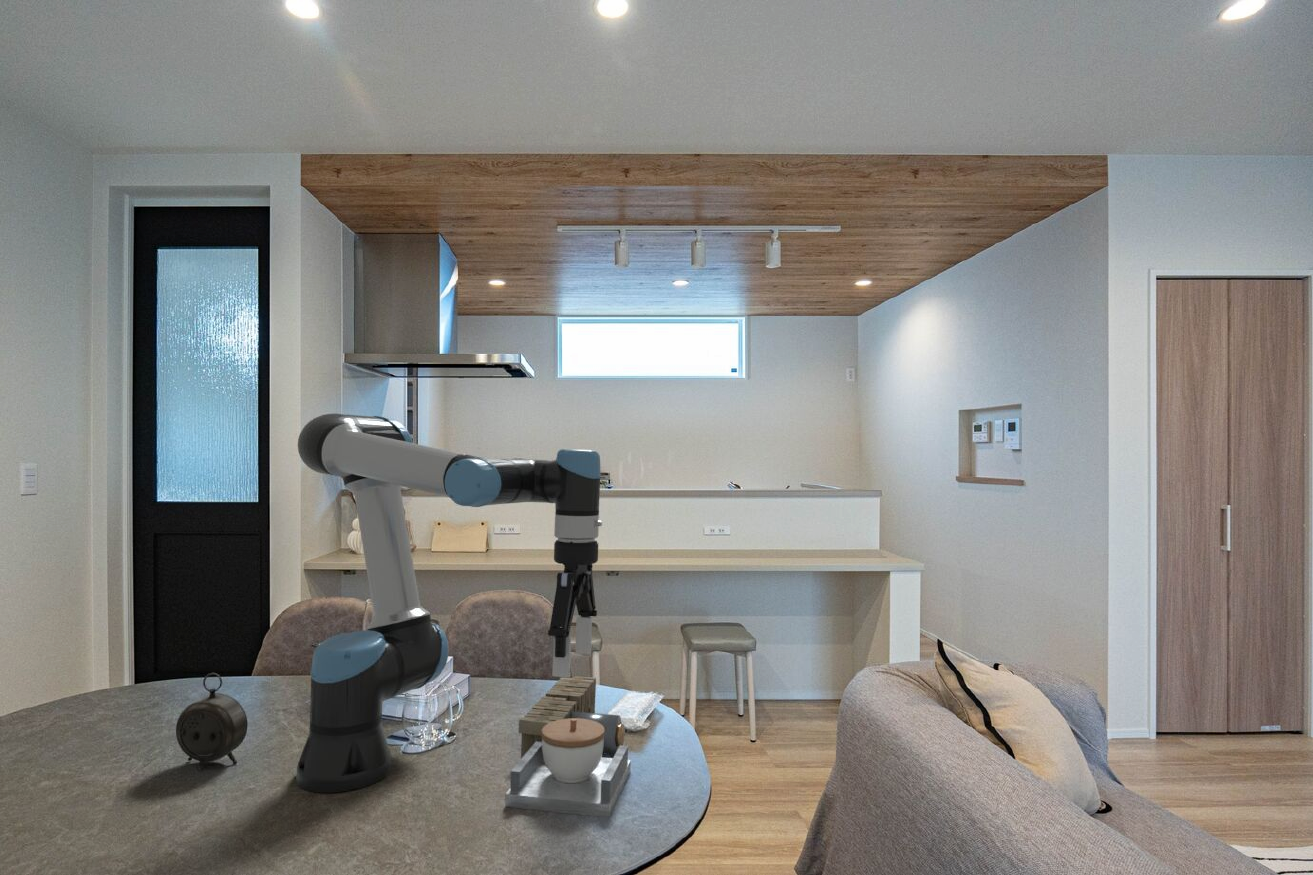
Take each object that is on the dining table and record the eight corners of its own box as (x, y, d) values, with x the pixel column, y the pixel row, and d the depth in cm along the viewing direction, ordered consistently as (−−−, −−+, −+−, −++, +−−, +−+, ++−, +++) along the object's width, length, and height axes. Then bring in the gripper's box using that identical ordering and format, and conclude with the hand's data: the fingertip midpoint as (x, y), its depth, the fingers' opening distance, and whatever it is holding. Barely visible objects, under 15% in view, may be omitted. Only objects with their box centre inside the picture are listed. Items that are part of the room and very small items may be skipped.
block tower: (561, 713, 160) (515, 763, 132) (562, 675, 161) (517, 716, 132) (596, 716, 159) (557, 767, 130) (597, 677, 160) (558, 719, 131)
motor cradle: (505, 806, 115) (506, 762, 115) (556, 740, 142) (557, 704, 142) (608, 817, 112) (610, 772, 112) (641, 748, 139) (641, 711, 140)
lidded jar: (593, 792, 116) (595, 734, 116) (530, 785, 118) (532, 727, 118) (610, 765, 127) (612, 711, 127) (552, 759, 129) (554, 706, 129)
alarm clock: (247, 760, 130) (251, 669, 130) (227, 773, 124) (231, 679, 125) (190, 757, 131) (194, 667, 131) (168, 770, 125) (171, 676, 126)
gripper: (578, 549, 110) (574, 689, 110) (613, 533, 135) (610, 647, 134) (531, 547, 112) (526, 685, 111) (575, 531, 136) (571, 644, 136)
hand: (572, 664), depth 123 cm, fingers open, 13 cm apart
